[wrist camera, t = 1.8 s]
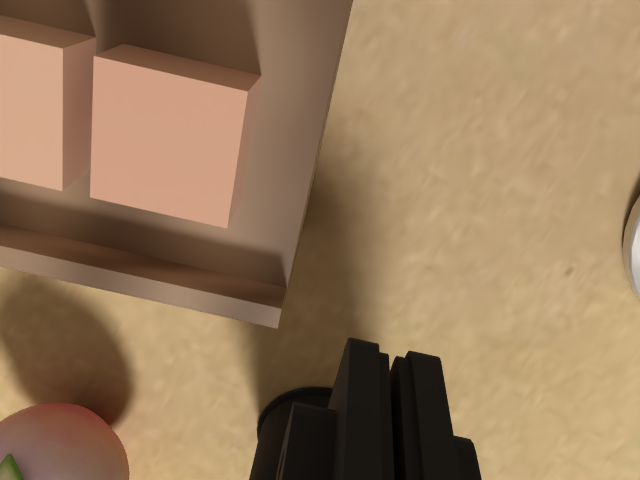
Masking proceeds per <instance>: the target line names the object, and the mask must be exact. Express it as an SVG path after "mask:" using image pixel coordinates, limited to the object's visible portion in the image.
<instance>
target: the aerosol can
mask: <svg viewBox="0 0 640 480" xmlns="http://www.w3.org/2000/svg"><path fill="white" fill-rule="evenodd" d="M332 391H333V390H332V389H328V388H304V389H298V390H295V391H291V392H288V393H286V394H284V395H282V396H279V397H278V398H277V399H275V400H274V401H272V402H271V403H270V404H269V405H268V406H267V408H266V409H265V410H264V411H263V413H262V415H261V417H260V419H259V422H258V427H257V438H258V444H257V449H256V453H255V457H254V461H253V466H252V470H251V474H250V478H249V480H276V475H277V470H278V465H279V460H280V455H281V450H282V446H283V441H284V437H285V433H286V428H287V425H288V421H289V417H290V413H291V409H292V405H293V402H294V401H295V402H300V403H304V404H309V405H314V406H318V407H323V408H328V405H329V401H330V398H331V395H332Z"/></svg>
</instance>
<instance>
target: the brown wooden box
mask: <svg viewBox="0 0 640 480" xmlns="http://www.w3.org/2000/svg"><path fill="white" fill-rule="evenodd" d="M352 2H353V0H0V15H3V16H7V17H11V18H16V19H20V20H24V21H28V22H33V23H37V24H41V25H46V26H50V27H54V28H59V29H63V30H67V31H71V32H76V33H80V34H84V35H89V36H93V37H96V55H97V54H100V53H102V52H105V51H107V50H110V49H112V48H115V47H117V46H120V45H122V44H127V45H132V46H136V47H140V48H145V49H149V50H153V51H157V52H162V53H166V54H170V55H175V56H179V57H183V58H188V59H192V60H196V61H200V62H205V63H209V64H213V65H218V66H222V67H226V68H231V69H235V70H239V71H243V72H248V73H252V74H256V75H261V82H260V88H259V95H258V101H257V107H256V113H255V120H254V126H253V132H252V138H251V144H250V151H249V157H248V163H247V169H246V176H245V182H244V188H243V194H242V200H241V203H240V205H239V207H238V209H237V211H236V212H235V214H234V216H233V218H232V220H231V222H230V224H229V226H228V228H223V227H218V226H214V225H209V224H205V223H201V222H196V221H192V220H187V219H183V218H178V217H174V216H170V215H165V214H161V213H156V212H152V211H148V210H143V209H139V208H134V207H130V206H126V205H121V204H117V203H112V202H108V201H104V200H99V199H95V198H90V177H91V169H90V170H88V171H87V172H86V173H85V174H83V175H82V176H81V177H80V178H78V179H77V180H76V181H74V182H73V183H72V184H71V185H69V186H68V187H67V188H66V189H64V190H63V191H59V190H55V189H51V188H46V187H42V186H37V185H33V184H29V183H24V182H20V181H15V180H11V179H7V178H2V177H0V267H4V268H8V269H13V270H17V271H22V272H26V273H31V274H35V275H40V276H44V277H49V278H53V279H57V280H62V281H66V282H71V283H75V284H80V285H84V286H89V287H93V288H98V289H102V290H107V291H111V292H116V293H120V294H125V295H129V296H133V297H138V298H142V299H147V300H151V301H156V302H160V303H165V304H169V305H174V306H178V307H183V308H187V309H192V310H196V311H200V312H205V313H209V314H214V315H218V316H223V317H227V318H232V319H236V320H241V321H245V322H250V323H254V324H259V325H263V326H268V327H272V328H276V329H277V328H278V325H279V321H280V317H281V313H282V309H283V305H284V301H285V297H286V293H287V289H288V285H289V281H290V277H291V273H292V269H293V266H294V262H295V258H296V254H297V250H298V246H299V242H300V238H301V234H302V229H303V225H304V220H305V216H306V211H307V207H308V202H309V198H310V193H311V188H312V184H313V179H314V175H315V170H316V166H317V161H318V157H319V152H320V148H321V143H322V138H323V134H324V129H325V125H326V120H327V116H328V111H329V107H330V102H331V98H332V93H333V88H334V84H335V79H336V75H337V70H338V66H339V61H340V57H341V52H342V48H343V43H344V39H345V34H346V29H347V25H348V20H349V16H350V11H351V7H352Z"/></svg>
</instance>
